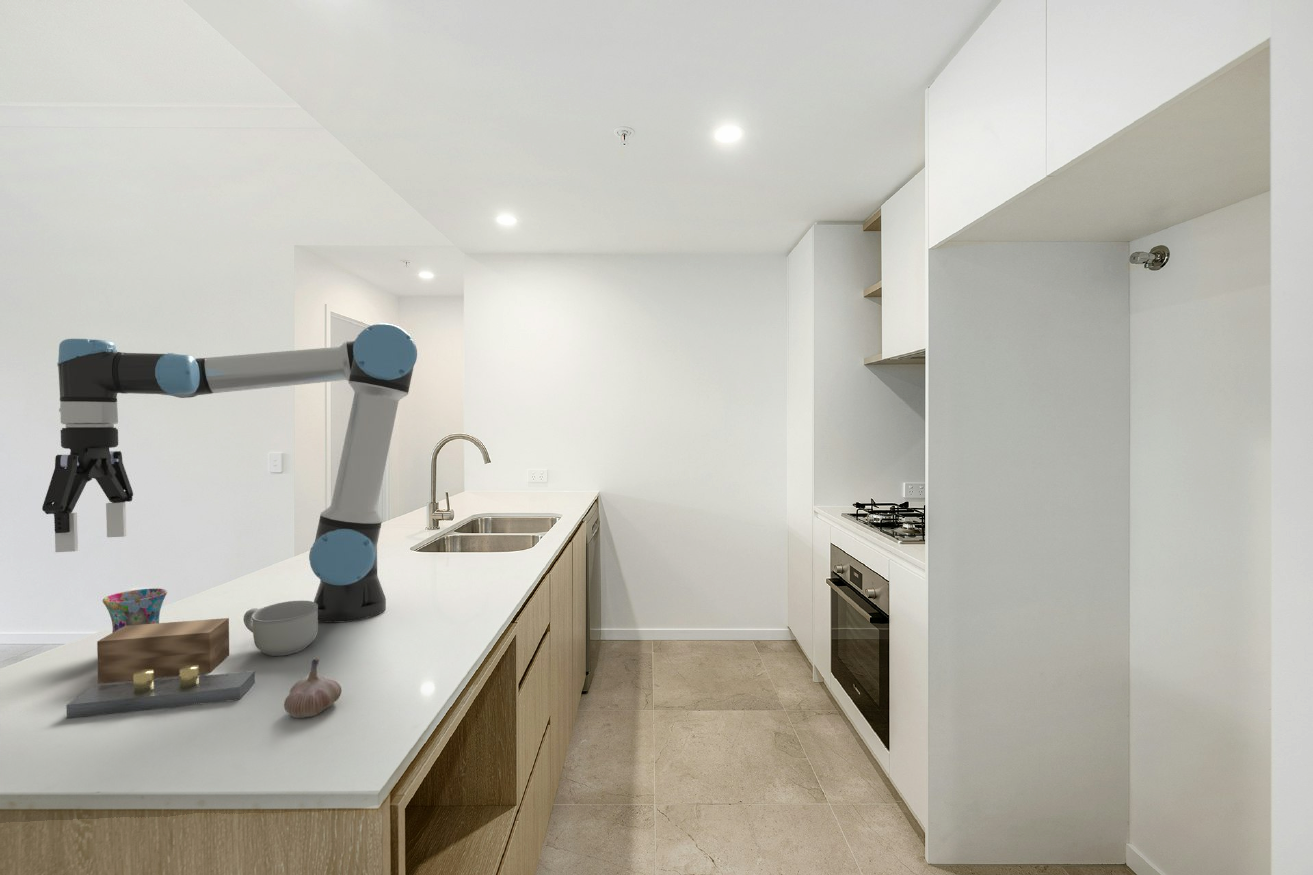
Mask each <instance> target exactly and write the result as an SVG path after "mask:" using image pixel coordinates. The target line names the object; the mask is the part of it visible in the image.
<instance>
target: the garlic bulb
mask: <svg viewBox="0 0 1313 875" xmlns="http://www.w3.org/2000/svg"><path fill="white" fill-rule="evenodd" d="M319 662H320V658H319V657H313V658H312V660H311V665H310V671H309V673H308V674H309V675H307V676H305V677H304V678H300V680H298V681H297V682H295V684H294V685H292V686H291V688H290V691H289V693H288V695H287V696H286V698H285V700H284V702H283V707H284V708H283V709H284V710H285V712H286V713H287V714H289V715H290V716H291V717H293V718H295V719H296V718H297V719H302V718H307V717H311V718H312V717H315V716H317V715H318V714H319V715H320V714H321V713H322V712H323V711H324V710H326V708H329V707H330V706H333V704H334V703H335V702H337V701H338V700H339V698H340V697H341V695H342V686H341V684H340V683H339V682H338V681H336V680H335V679H331V678H327V677H325V676H322V675H320V674H319V675H318V666H319Z"/></svg>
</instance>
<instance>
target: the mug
mask: <svg viewBox="0 0 1313 875" xmlns="http://www.w3.org/2000/svg"><path fill="white" fill-rule="evenodd" d="M167 595H168V590H167V589H165V588H158V587H157V588H156V587H155V588H139V589H134V590H133V589H132V590H127V591H123V592H117V593H114V594H111V595H108V596H106V597H104V598H103V599H102V603H103V605H104V606H105V607H106V610H107V611H108V615H109V616H110V619H111V625H112V631H111V632H112V633H113V632H115V631H117V630H119V629H120V628H122V627H124V626H129V625H142V624H156V623H160V613H161V610H162V606H163V604H164V603H163V602H164V600H165V598H166V596H167Z"/></svg>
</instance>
